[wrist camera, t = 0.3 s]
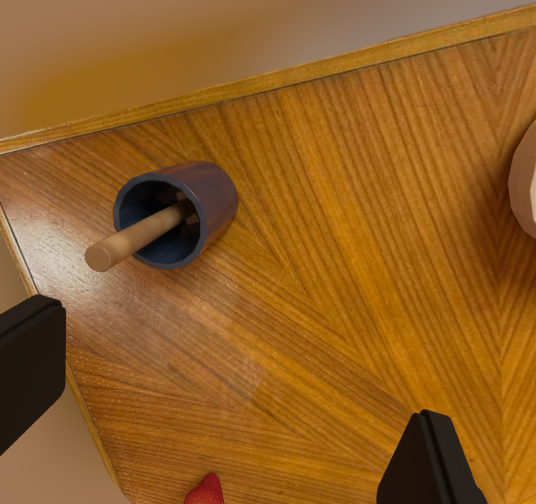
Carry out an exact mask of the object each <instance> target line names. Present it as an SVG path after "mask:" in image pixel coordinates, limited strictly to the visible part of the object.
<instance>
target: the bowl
mask: <svg viewBox="0 0 536 504" xmlns="http://www.w3.org/2000/svg"><path fill="white" fill-rule="evenodd" d="M508 189H509V196H510V203H511V209H512V211H513V213H514V215H515V216H516V218H517V220H518V222H519V223H520V225H521V227H522V229H523V230H524V231H525V232H526V233H527V234H528V235H530V236H531V237H532V238H533V239H535V240H536V120H535V121H534V122H533V123H532V124H531V125H530V126H529V128H528V130H527V132H526V133H525V135H524V137H523V139H522V140H521V142H520V144H519V146H518V147H517V149H516V151H515V153H514V156H513V161H512V165H511V170H510V174H509V179H508Z"/></svg>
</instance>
